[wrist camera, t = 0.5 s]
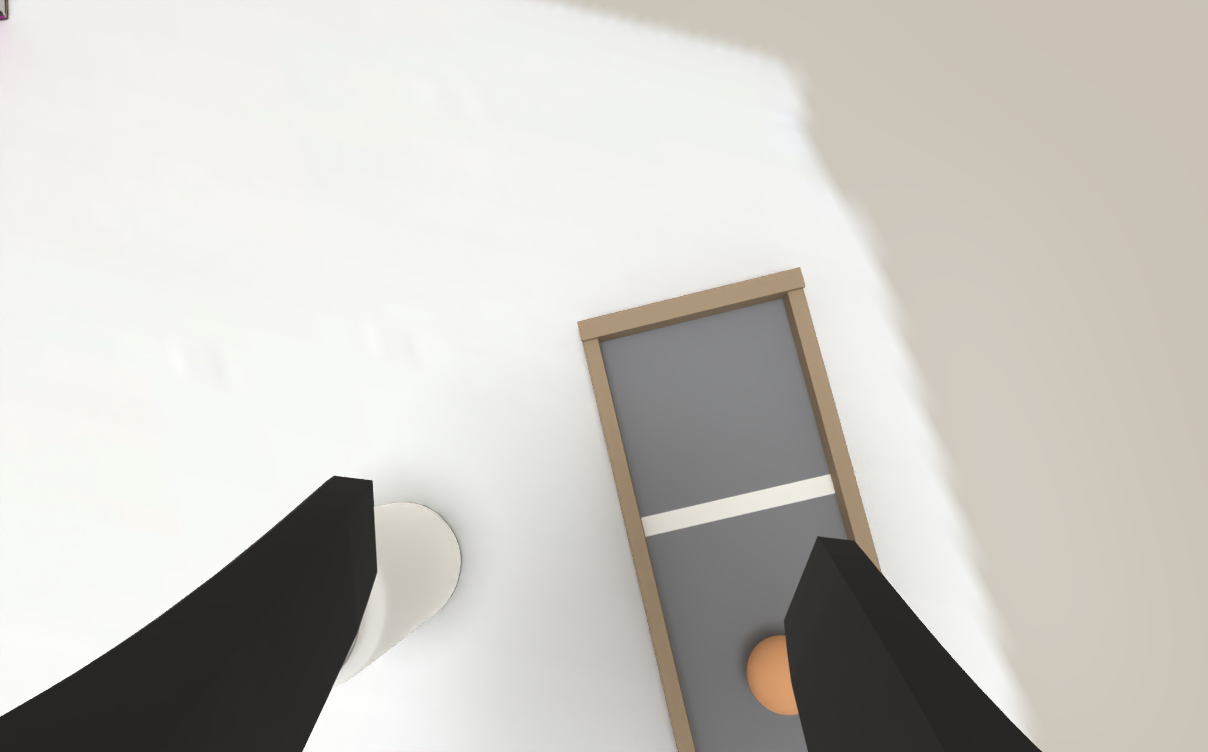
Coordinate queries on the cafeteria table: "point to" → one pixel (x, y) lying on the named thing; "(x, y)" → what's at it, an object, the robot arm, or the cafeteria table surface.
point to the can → (404, 580)
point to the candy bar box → (3, 9)
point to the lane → (722, 487)
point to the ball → (772, 676)
